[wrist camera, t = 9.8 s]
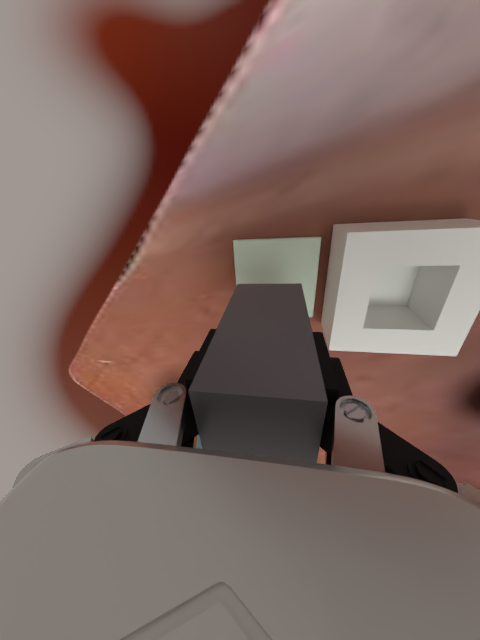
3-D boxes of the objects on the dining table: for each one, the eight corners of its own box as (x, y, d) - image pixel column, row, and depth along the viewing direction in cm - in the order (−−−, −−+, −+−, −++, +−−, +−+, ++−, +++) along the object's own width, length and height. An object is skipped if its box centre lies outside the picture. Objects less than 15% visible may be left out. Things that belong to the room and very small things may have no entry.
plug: (301, 283, 15) (327, 401, 7) (297, 337, 17) (313, 478, 9) (237, 283, 16) (188, 391, 7) (241, 335, 18) (206, 464, 10)
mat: (320, 236, 20) (321, 237, 20) (312, 314, 24) (312, 317, 24) (234, 239, 22) (233, 240, 21) (239, 312, 26) (238, 315, 25)
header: (465, 218, 18) (521, 225, 14) (423, 325, 23) (456, 356, 19) (333, 224, 20) (347, 232, 15) (320, 322, 25) (328, 350, 20)
